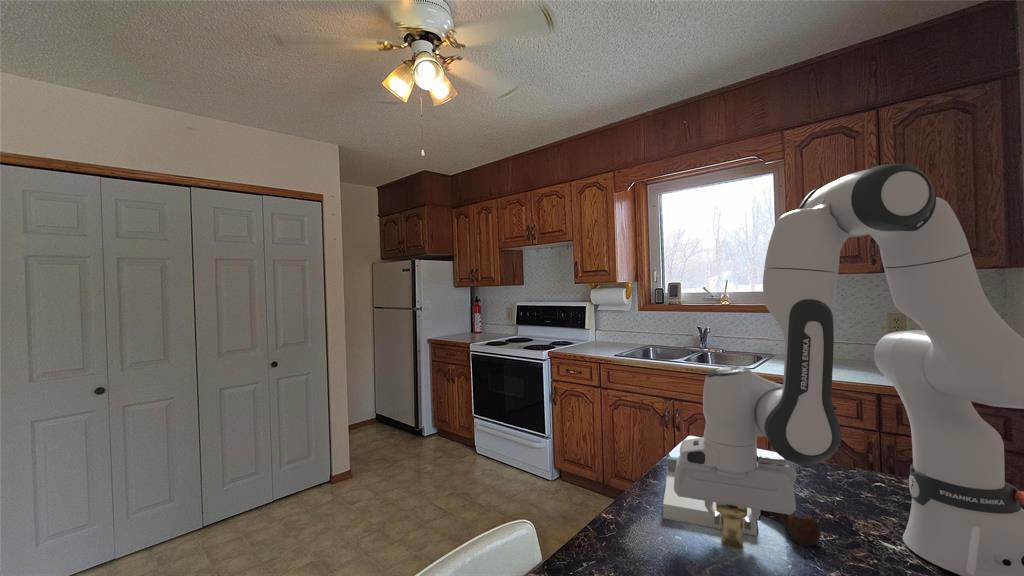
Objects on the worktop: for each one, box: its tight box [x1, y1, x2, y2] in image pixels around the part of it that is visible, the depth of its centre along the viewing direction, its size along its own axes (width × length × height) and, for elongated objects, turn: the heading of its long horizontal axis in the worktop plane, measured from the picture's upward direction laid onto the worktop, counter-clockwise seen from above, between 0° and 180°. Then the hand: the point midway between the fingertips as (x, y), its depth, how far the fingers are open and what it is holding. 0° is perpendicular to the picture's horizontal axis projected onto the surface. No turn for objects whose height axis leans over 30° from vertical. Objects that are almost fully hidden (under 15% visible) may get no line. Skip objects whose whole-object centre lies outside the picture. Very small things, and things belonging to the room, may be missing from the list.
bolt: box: [760, 510, 822, 546], centre depth 85 cm, size 6×5×15 cm
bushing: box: [716, 503, 747, 549], centre depth 79 cm, size 5×5×7 cm
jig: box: [662, 456, 758, 537], centre depth 92 cm, size 17×18×6 cm
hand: (731, 526), depth 79 cm, fingers open, 4 cm apart
